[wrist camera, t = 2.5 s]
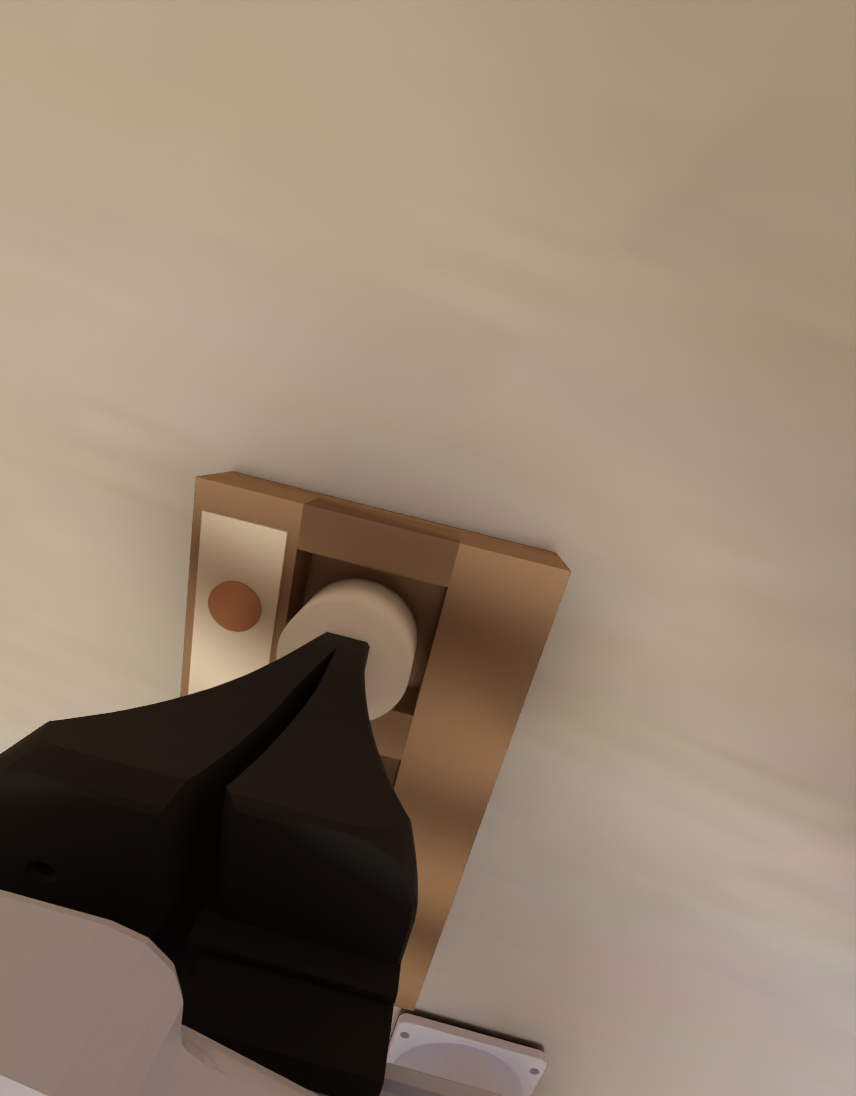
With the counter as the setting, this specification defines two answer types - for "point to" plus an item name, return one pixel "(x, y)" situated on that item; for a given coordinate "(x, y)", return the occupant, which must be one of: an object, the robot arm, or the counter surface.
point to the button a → (362, 634)
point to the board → (439, 662)
